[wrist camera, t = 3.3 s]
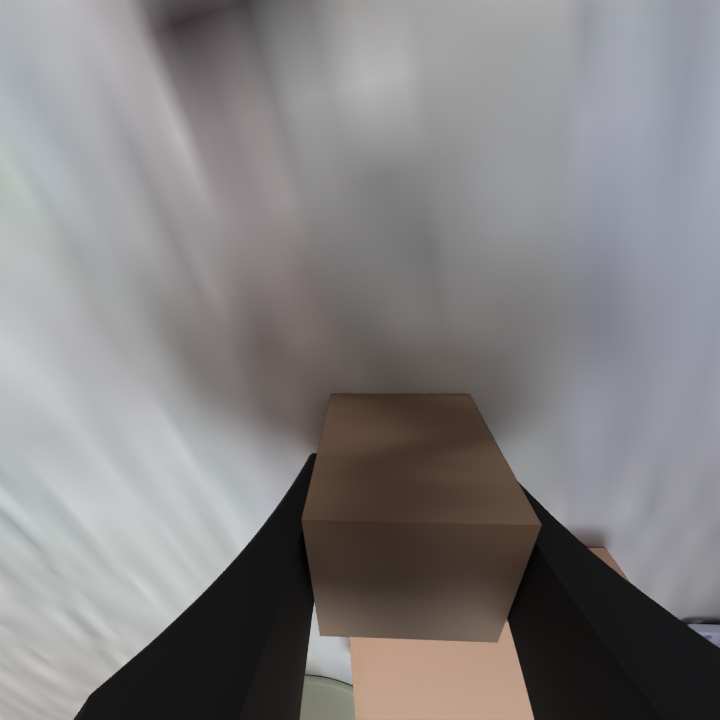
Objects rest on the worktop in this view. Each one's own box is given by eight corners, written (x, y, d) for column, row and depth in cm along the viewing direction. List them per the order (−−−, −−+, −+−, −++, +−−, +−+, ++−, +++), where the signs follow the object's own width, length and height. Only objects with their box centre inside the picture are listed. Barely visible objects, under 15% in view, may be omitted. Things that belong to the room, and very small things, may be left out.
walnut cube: (469, 394, 11) (541, 525, 6) (453, 492, 13) (497, 642, 8) (331, 394, 11) (301, 519, 6) (338, 490, 13) (320, 635, 8)
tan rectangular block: (605, 547, 14) (661, 627, 11) (542, 663, 19) (570, 736, 16) (352, 541, 14) (347, 616, 12) (358, 655, 20) (356, 725, 17)
